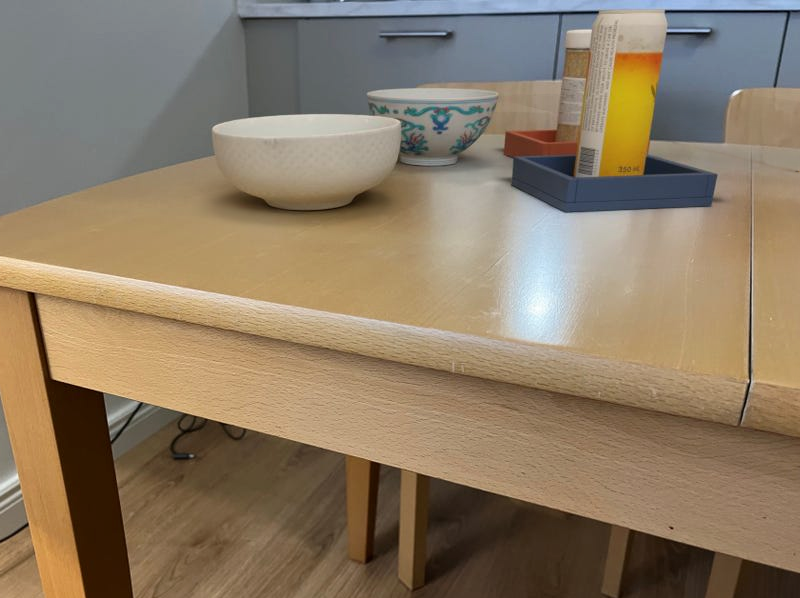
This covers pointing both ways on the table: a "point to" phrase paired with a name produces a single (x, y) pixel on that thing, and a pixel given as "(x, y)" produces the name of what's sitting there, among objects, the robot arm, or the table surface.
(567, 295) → the table surface
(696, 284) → the table surface
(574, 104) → the sprinkles bottle
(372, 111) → the chinaware
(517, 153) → the terracotta tray
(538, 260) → the table surface
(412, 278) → the table surface
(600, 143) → the beer can
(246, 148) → the cereal bowl
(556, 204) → the blue tray
